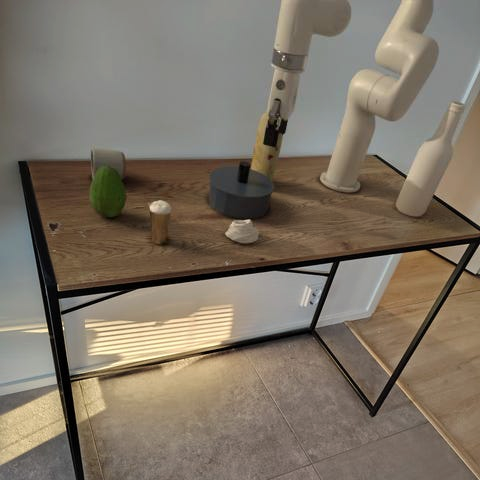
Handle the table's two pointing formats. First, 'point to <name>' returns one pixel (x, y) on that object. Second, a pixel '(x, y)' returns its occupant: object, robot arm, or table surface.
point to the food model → (265, 151)
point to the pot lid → (241, 181)
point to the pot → (238, 204)
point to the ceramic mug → (108, 160)
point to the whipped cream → (242, 231)
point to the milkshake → (159, 220)
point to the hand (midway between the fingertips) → (274, 138)
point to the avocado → (107, 192)
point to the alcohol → (430, 165)
